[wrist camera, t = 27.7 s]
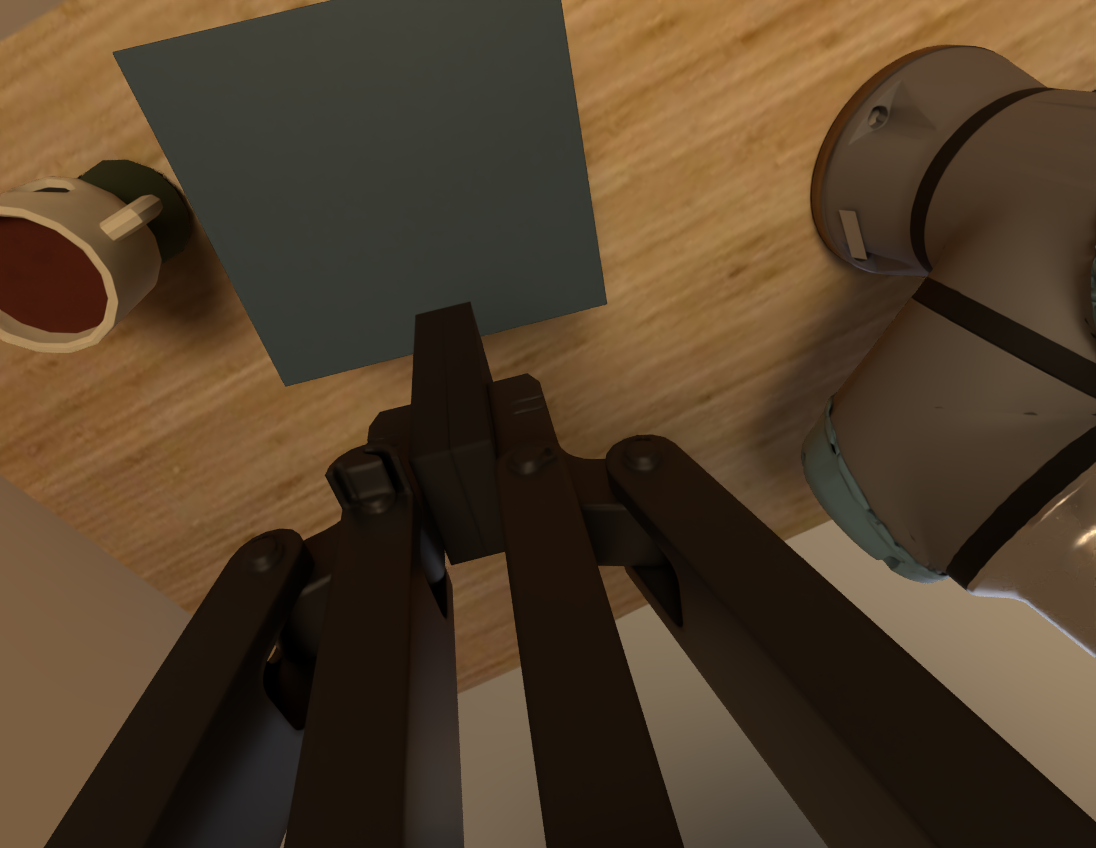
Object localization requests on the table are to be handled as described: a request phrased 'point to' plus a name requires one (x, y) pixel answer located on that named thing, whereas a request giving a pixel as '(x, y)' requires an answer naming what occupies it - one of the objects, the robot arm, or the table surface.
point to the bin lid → (380, 169)
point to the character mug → (83, 252)
